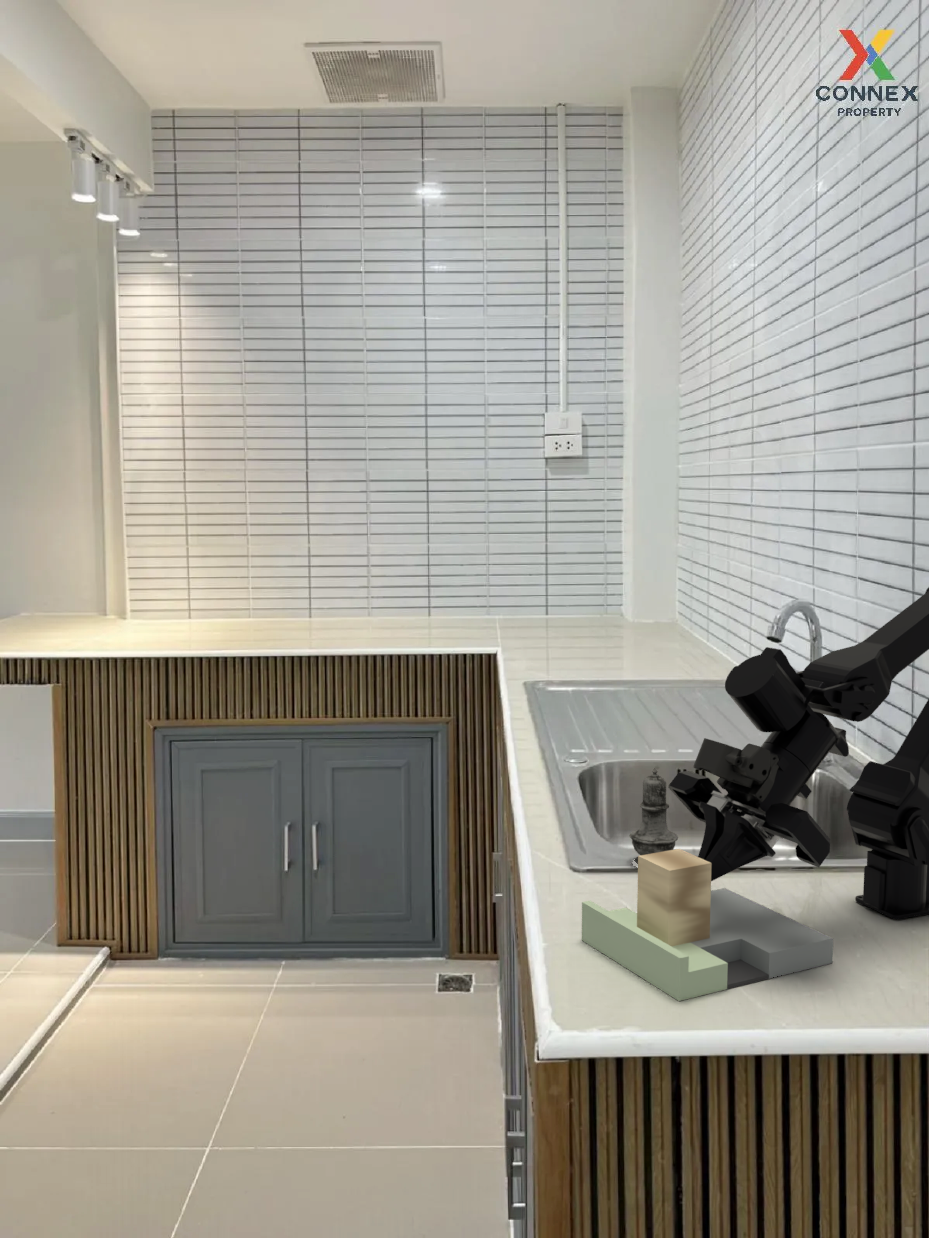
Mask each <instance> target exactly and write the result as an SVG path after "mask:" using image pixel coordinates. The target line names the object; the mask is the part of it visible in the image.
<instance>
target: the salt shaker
mask: <svg viewBox="0 0 929 1238" xmlns="http://www.w3.org/2000/svg"><path fill="white" fill-rule="evenodd" d="M651 772H652V774H650V775H648V776H646V777H644V779H643V782H642V802H640V803H639V804H638V805H639V807H640V808H641V822H640V826H639V828H638V829H636V830H633V831H631V832H630V833H629V838H630V839H631V844H632V846H633V848H634V851H635V852H636V853H637V854H638V856H641V855H646V854H652V853H658V852H663V851H669V850H675V847H676V842H677V841H678V839H679V836H678V835H677V833H675V832H673V831H670V830H669V828H668V822H667V809H669V807H670V805H669V804H668V803H667V782H666V780H665V778H664V777H662V776H660V775H659V774H658V772H659V771H657V768H656V767H655V768H654V769H653V770H652V771H651ZM638 856H636V857H635V858H634V859H635V860H634V861H635V862H636V863H637V864H638Z"/></svg>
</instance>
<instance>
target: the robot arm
mask: <svg viewBox="0 0 929 1238" xmlns="http://www.w3.org/2000/svg"><path fill="white" fill-rule="evenodd" d="M928 650H929V586H928V587H927V588H926V590H925V593H924V594H923V595H921V596H920V597H919V598H917V599H916V600H915V601H914V602H912V603H910V605H908V606H907V607H905V608H904V609H903V610H902V611H900V612H899V613H898V614H897V615H895V616H894V617H893V618H892V619H890V620H889V621H888V622H886V623H885V624H884V625H882V626H881V627H879V629H877V630H876V631H875V632H873V633H871V635H869V636H868V637H867V638H865V639H864V640H863V641H861V642H859V643H858V644H855V645H852V646H848V647H845V648H840V649H837V650H833V651H830V652H829V653H826V654H824V655H823V656H821V657H819V658H816V659H815V660H813V661H811V662H810V663H808V665H807V666H805V668H803V670H801V671H796V670H795V669H794V668H793V666H792V665H791V663H790V662H789V659H788V657H787V655H786V654H785V653H784V652H783V650H782V649H779V648H775V647H774V648H773V647H768V646H767V647H765V648H764V650H763V651H762V652H761V653H760V654H757V655H754V656H751V657H749V658H747V659H745V660H744V661H742V662H741V663H740V664H738V665H736V666H734V667H733V668H731V670H730V672H729V673H728V674H727V677H726V679H725V681H724V689H725V692H726V693H727V694H728V696H729V697H730V698H731V699H732V700H733V701H734V703H735V704H736V705H737V706H738V708H739V709H740V711H742V713H743V714H744V715H745V716H746V717H747V719H748V720H749V721H750V722H751V724H752V725H753V726H754V728H756V729H757V730H758V731H759V732H762V733H769V735H768V736H767V738H766V739H765V740H764V742H763V743H762V745H756V744H754V743H747V744H746V745H745V746H744V747H743V748H742V749H741V748H739V747H735V746H732V745H729V744H726V743H723V742H719V741H716V740H713V739H709V738H706V737H705V738H703V741H702V742H701V745H700V749H699V752H698V753H697V756H696V758H695V760H694V764H693V767H692V768H694V769H696V770H698V771H705V772H707V773H710V774H711V775H713V776H716V777H717V778H718V779H717V781H716V783H717V784H718V785H719V786H720V788H721V789H723V790H725V791H726V792H727V794H725V793H722V791H721V790H720V789H719V787H718V786H716V784H715V783H714V782H713V781H712V780H711V778H710V777H707V776H704V775H702V774H699V773H696V772H693V771H690V770H684V771H678V773H677V774H676V775H675V776H674V778H673V779H672V781H671V782H670V783H669V784H668V786H667V787H668V789H669V790H670V791H671V793H672V794H674V796H675V797H676V798H677V799H678V800H679V801H680V802H681V803H682V804H683V806H684V807H685V808H687V810H688V811H689V812H690V813H691V814H692V815H693V817H695V818H696V819H697V820H698V821H700V822H703V823H704V824H705V828H704V833H703V837H702V842H701V846H700V849H699V853H698V856H697V857H699V858H701V859H704V860H706V861H708V862H710V863H712V864H711V882H714V881H716V880H717V879H719V878H722V877H723V876H725V875H727V874H729V873H731V872H733V871H735V870H737V869H739V868H741V867H744V866H745V865H748V864H750V863H753V862H756V861H757V860H760V859H763V858H766V857H771V858H773V857H774V856H775V855H776V851H775V850H774V849H773V848H774V846H775V845H776V843H777V842H778V841H779V840H780V839H784V840H788V841H789V842H793V843H795V844H797V845H796V846H795V854H796V857H797V858H798V860H799V861H802V862H804V863H807V864H809V865H812V866H813V867H814V866H815V867H816V868H820V866H821V865H822V864H823V862H824V861H825V860H826V858H827V857H828V855H829V854H830V853H831V850H830V849H831V838H830V836H828V835H827V833H826V832H825V831H824V830H823V829H822V827H821V826H820V825H819V824H818V823H817V822H816V820H814V818H813V817H812V816H811V814H810V813H809V812H808V811H806V810H804V809H801V808H798V807H795V806H792V804H793V803H794V801H795V800H796V799H797V797H799V798H803V799H805V800H806V799H808V797H809V796H810V795H811V794H812V792H813V791H812V789H810V787H809V786H808V785H807V783H808V782H809V780H810V779H811V777H812V776H813V775H814V774H815V772H816V771H817V770H818V768H819V766H820V765H821V764H822V763H823V761H824V760H825V759H826V757H827V755H828V754H829V753H830V754H834V755H837V756H840V757H844V758H846V757H848V756H849V754H850V751H849V749H850V748H849V744H848V741H847V731H846V729H843V728H839V727H835V726H834V725H833V724H832V722H831V721H830V719H828V717H827V716H829V717H833V718H838V719H842V720H846V721H850V722H857V723H858V722H860V723H861V722H864V721H865V720H866V719H868V718H869V717H871V716H872V715H873V714H874V712H876V710H877V709H878V708H879V707H880V706H881V705H882V704H883V702H884V701H885V700H886V699H887V698H888V696H890V693H891V688H892V683H893V680H894V679H895V678H896V677H897V676H898V675H899V674H900V673H901V672H902V671H903V670H905V669H906V668H907V667H908V666H910V665H911V664H912V663H914V662H915V661H916V660H917V659H919V658H920V657H921V656H922V655H924V654H925V653H926V652H927V651H928ZM849 792H850V793H852V794H850V797H849V799H848V801H847V804H846V811H847V815H848V822H849V824H850V827H851V832H852V835H853V839H854V843H855V845H856V846H859V847H864V848H867V849H869V850H867V851H866V852H867V853H866V855H867V856H866V865H865V866H864V867H863V868H864V869H863V891H862V892H863V894H860V895H856V896H855V897H854V898H855V899H854V900H855V902H856V903H859V904H861V905H863V906H865V907H867V908H870V909H872V910H873V911H876V912H878V913H880V914H882V915H885V916H886V917H888V918H891V919H894V920H901V919H902V920H903V919H907V918H913V917H919V916H925V915H929V698H928V699H927V701H926V703H925V704H924V706H923V707H922V710H921V711H920V713H919V715H918V716H917V718H916V720H915V721H914V723H913V724H912V727H911V728H910V730H909V732H908V733H907V735H906V736H905V738H904V740H903V742H902V743H901V745H900V747H899V748H898V750H897V752H896V754H895V755H894V756H893V758H891V759H890V760H888V761H886V762H885V763H883V764H882V763H879V762H875V761H872V760H871V761H869V762H868V763H867V764H865V765H864V767H863V769H862V771H861V774H860V776H859V778H858V779H857V781H856V782H855V783H854V785H853V786H852V787H850V788H849Z"/></svg>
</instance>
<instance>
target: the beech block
mask: <svg viewBox="0 0 929 1238" xmlns="http://www.w3.org/2000/svg"><path fill="white" fill-rule="evenodd" d="M637 857H638V868H637V894H636V895H637V897H636V898H637V901H636V903H637V904H636V913H637V927H638V928H640V929H642V930H643V931H645V932H647V933H649V934H650V935H652V936H654V937H656V938H657V939H659V940H661V941H663V942H665V943H666V944H668V945H670V946H676V945H681V944H685V943H690V942H694V941H699V940H703V939H708V938H710V904H711V891H712V881H711V864H712V863H710V862H708V861H706V860H704V859H701V858H699V857H698V856H696V855H694V854H692V853H690V852H687V851H685V850H683V849H681V848H676V849H675V848H674V849H673V850H669V851H663V852H658V853H652V854H646V855H637Z"/></svg>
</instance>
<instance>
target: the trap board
mask: <svg viewBox="0 0 929 1238" xmlns="http://www.w3.org/2000/svg"><path fill="white" fill-rule="evenodd" d="M581 941H582V942H584V943H585V944H587V945H588V946H590V947H591V948H594V949H595V950H597V951H598V952H600V953H602V954H603V955H605V956H606V957H607V958H610V960H613V961H614V962H616V963H617V964H619V965H620V966H622V967H624V968H625V969H627V970H629V971H630V972H632V973H634V974H636V976H638V977H640V978H642V979H643V980H645V981H646V982H648V983H649V984H651V985H652V986H654V987H656V988H657V989H659V990H661V991H662V992H663V993H665V994H667V995H669V996H670V997H672V998H673V999H675V1000H677V1001H678V1002H680V1001H685V1000H689V999H694V998H697V997H700V996H705V995H709V994H713V993H717V992H721V991H725V990H728V989H729V990H730V989H732V988H737V987H742V986H745V985H749V984H754V983H757V982H761V981H765V980H770V979H774V978H777V976H778V977H781V975H782V976H785V975H790V974H793V972H794V973H798V972H802V971H806V970H808V969H809V970H810V969H814V968H817V967H823V966H826V965H830V964H833V953H834V951H833V950H834V938H833V937H832V936H829V935H827V934H825V933H823V932H821V931H818V930H816V929H814V928H813V927H810V926H808V925H806V924H804V923H802V922H799V921H797V920H795V919H793V918H790V917H788V916H786V915H785V914H781V913H780V912H777V911H775V910H774V909H771V908H770V907H766V906H765V905H762V904H760V903H758V902H756V901H753V900H752V899H749V898H748V897H745V896H743V895H741V894H740V893H739V894H738V893H736V892H734V891H732V890H730V889H728V888H725V887H724V888H719V889H713V890H712V889H711V904H710V938H708V939H703V940H699V941H694V942H690V943H685V944H681V945H676V946H670V945H668V944H666V943H665V942H663V941H661V940H659V939H657V938H656V937H654V936H652V935H650V934H649V933H647V932H645V931H643V930H642V929H640V928H638V927H637V911H633V910H632V909H630V908H628V907H622V908H617V909H611V910H608V909H606V908H604V907H602V906H601V905H599V904H598V903H596V902H594V901H592V900H586V901H582V902H581ZM773 977H774V978H773Z"/></svg>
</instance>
